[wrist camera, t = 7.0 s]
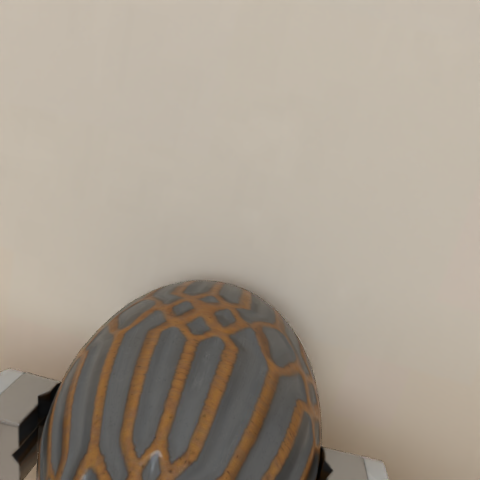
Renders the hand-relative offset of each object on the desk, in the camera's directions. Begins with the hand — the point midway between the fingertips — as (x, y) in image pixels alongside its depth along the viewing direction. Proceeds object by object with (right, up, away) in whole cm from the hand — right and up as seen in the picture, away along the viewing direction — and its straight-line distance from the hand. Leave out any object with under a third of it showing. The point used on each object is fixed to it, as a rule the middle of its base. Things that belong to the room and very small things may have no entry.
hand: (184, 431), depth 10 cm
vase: (+1, +1, +4) cm, 4 cm away
